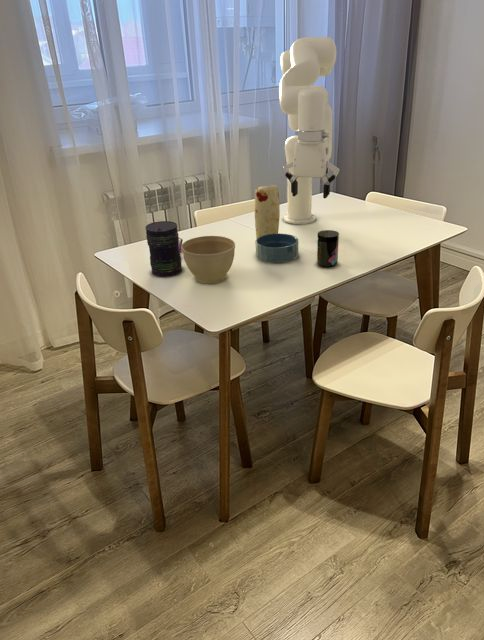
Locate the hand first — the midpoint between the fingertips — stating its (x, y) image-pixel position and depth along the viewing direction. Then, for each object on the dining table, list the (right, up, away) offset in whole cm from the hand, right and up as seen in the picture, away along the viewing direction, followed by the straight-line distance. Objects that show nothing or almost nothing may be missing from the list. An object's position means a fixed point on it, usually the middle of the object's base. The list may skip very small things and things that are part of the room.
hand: (310, 196), depth 163 cm
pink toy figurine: (-44, -14, +23) cm, 51 cm away
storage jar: (-45, -22, +10) cm, 51 cm away
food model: (-13, -8, +31) cm, 34 cm away
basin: (-10, -15, +18) cm, 25 cm away
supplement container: (+6, -19, +10) cm, 23 cm away
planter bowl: (-30, -24, +4) cm, 39 cm away
